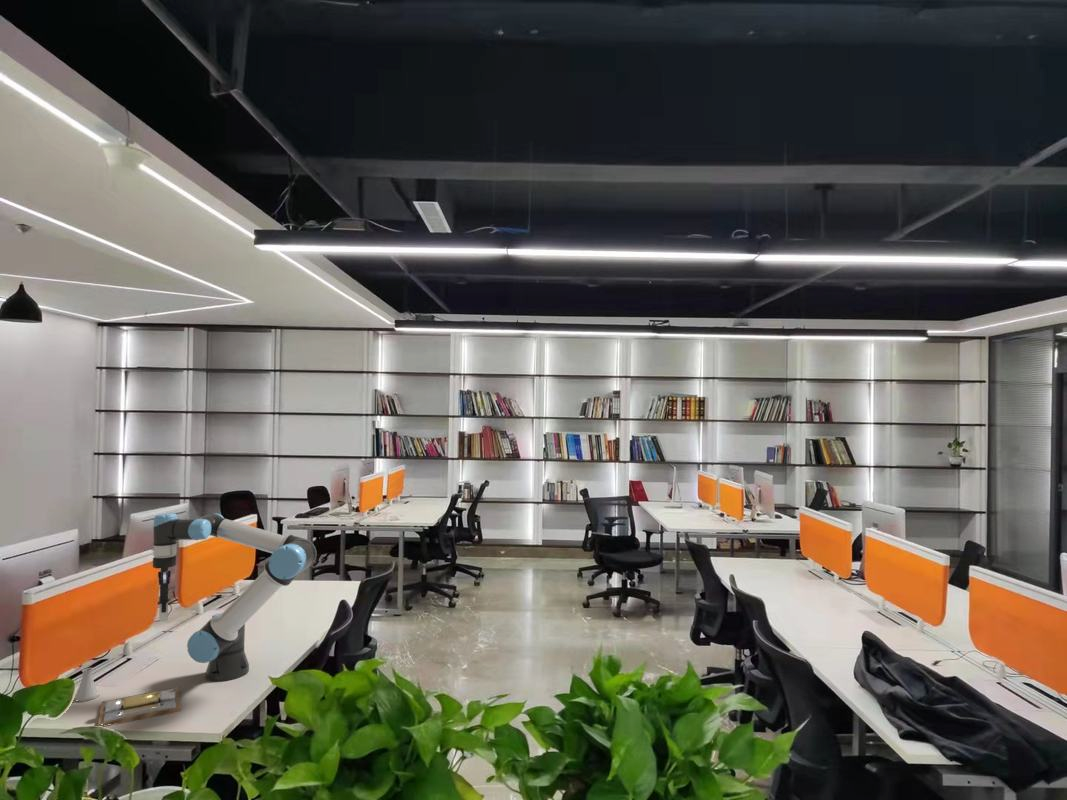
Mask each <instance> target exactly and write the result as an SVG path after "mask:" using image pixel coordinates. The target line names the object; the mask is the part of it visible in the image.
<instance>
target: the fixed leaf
mask: <svg viewBox="0 0 1067 800" xmlns="http://www.w3.org/2000/svg"><path fill="white" fill-rule="evenodd" d="M170 689H171V688H170ZM165 690H166V689H165ZM175 697H177V693H175V689H171V690H166V691H161V692H160V703H157V704H152V705H147V706H142V707H137V708H131V709H126V710H122V699H119V700H113V699H112V700H113V701H108V700H107V701H108V702H105V706H104V707H103V711H105V716H104V722H108V721H113V720H118V719H123V718H128V717H133V716H138V715H142V714H147V713H152V712H157V711H162V710H167V709H172V708H176V702H175Z"/></svg>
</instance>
